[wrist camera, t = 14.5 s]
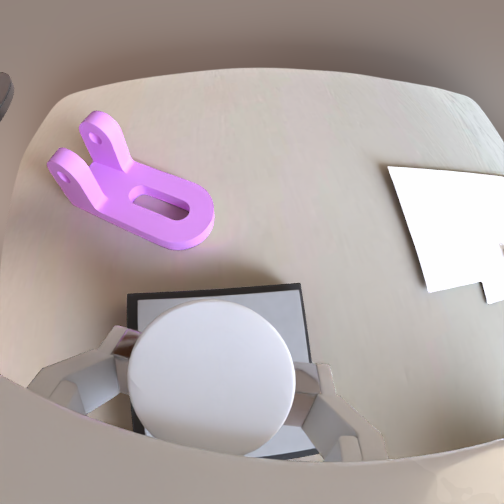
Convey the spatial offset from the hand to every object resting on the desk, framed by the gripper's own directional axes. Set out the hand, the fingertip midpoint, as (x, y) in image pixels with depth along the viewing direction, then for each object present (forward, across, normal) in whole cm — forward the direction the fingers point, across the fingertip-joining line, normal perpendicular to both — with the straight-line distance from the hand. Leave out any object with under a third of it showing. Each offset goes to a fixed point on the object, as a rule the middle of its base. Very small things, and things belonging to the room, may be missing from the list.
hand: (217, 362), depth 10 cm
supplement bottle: (+3, 0, +4) cm, 5 cm away
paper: (+20, -26, -4) cm, 33 cm away
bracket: (+16, +9, -1) cm, 19 cm away
